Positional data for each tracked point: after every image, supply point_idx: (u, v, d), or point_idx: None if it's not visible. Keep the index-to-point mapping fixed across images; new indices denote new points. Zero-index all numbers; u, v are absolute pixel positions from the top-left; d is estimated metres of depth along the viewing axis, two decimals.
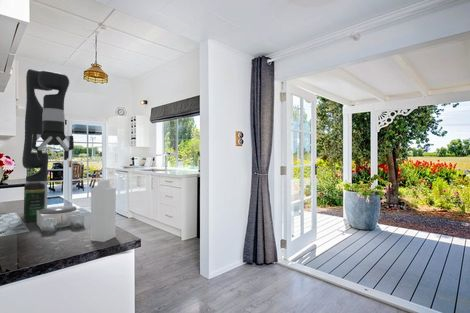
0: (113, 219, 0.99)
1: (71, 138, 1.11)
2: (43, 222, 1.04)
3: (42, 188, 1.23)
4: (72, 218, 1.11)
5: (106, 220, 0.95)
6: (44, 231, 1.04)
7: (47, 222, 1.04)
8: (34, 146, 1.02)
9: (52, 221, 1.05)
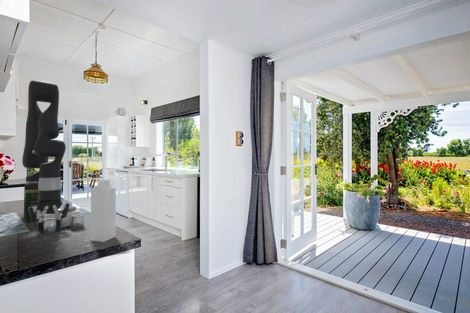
0: (113, 219, 0.99)
1: (67, 206, 1.09)
2: (43, 222, 1.04)
3: None
4: (72, 218, 1.11)
5: (107, 220, 0.95)
6: (44, 231, 1.04)
7: (47, 222, 1.04)
8: (35, 219, 1.02)
9: (52, 221, 1.05)
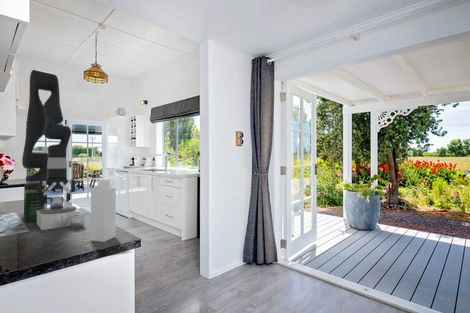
0: (113, 219, 0.99)
1: (73, 182, 1.24)
2: (51, 199, 1.18)
3: (42, 188, 1.23)
4: (72, 218, 1.11)
5: (107, 220, 0.95)
6: (52, 207, 1.18)
7: (55, 199, 1.18)
8: (40, 192, 1.15)
9: (59, 198, 1.19)
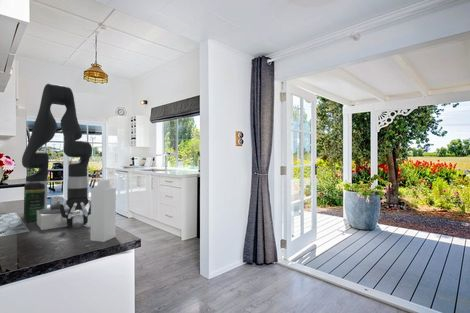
0: (113, 219, 0.99)
1: None
2: (51, 199, 1.18)
3: (42, 188, 1.23)
4: (72, 218, 1.11)
5: (107, 220, 0.95)
6: (52, 207, 1.18)
7: (55, 199, 1.18)
8: (64, 215, 1.09)
9: (59, 198, 1.19)
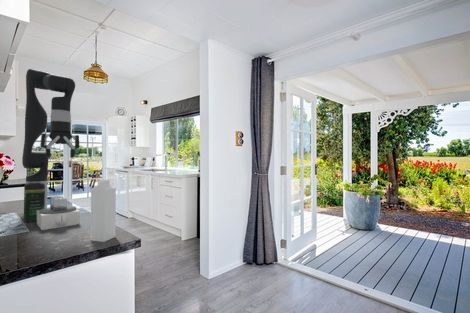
0: (113, 219, 0.99)
1: (77, 137, 1.19)
2: (51, 199, 1.18)
3: (42, 188, 1.23)
4: (55, 201, 1.13)
5: (107, 220, 0.95)
6: (52, 207, 1.18)
7: None
8: (43, 145, 1.10)
9: None
